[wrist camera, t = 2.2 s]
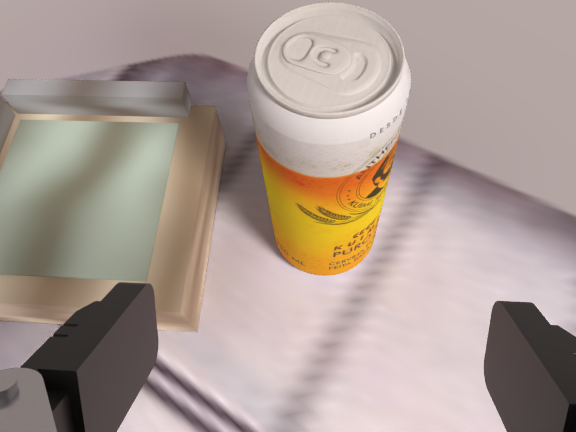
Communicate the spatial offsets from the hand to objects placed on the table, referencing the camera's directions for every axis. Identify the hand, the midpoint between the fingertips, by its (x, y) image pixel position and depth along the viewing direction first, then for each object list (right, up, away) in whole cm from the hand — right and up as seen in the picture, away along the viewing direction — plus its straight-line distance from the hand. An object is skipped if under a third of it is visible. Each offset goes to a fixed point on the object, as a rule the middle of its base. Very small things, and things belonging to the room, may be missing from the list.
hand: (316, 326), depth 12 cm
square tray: (-12, +2, +20) cm, 24 cm away
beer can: (+2, +1, +19) cm, 19 cm away
